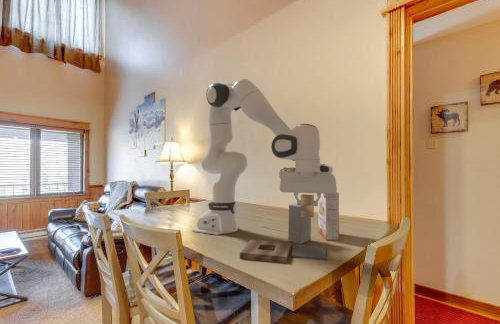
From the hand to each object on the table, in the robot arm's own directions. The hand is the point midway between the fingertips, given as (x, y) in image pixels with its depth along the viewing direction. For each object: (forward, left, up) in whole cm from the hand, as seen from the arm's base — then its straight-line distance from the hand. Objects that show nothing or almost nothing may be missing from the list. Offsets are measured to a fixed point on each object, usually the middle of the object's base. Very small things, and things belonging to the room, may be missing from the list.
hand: (307, 205), depth 91 cm
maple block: (0, 0, -4) cm, 4 cm away
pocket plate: (-14, -3, -18) cm, 23 cm away
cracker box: (+9, +26, -18) cm, 33 cm away
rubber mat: (+1, +1, -18) cm, 18 cm away
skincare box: (-3, +15, -18) cm, 23 cm away
